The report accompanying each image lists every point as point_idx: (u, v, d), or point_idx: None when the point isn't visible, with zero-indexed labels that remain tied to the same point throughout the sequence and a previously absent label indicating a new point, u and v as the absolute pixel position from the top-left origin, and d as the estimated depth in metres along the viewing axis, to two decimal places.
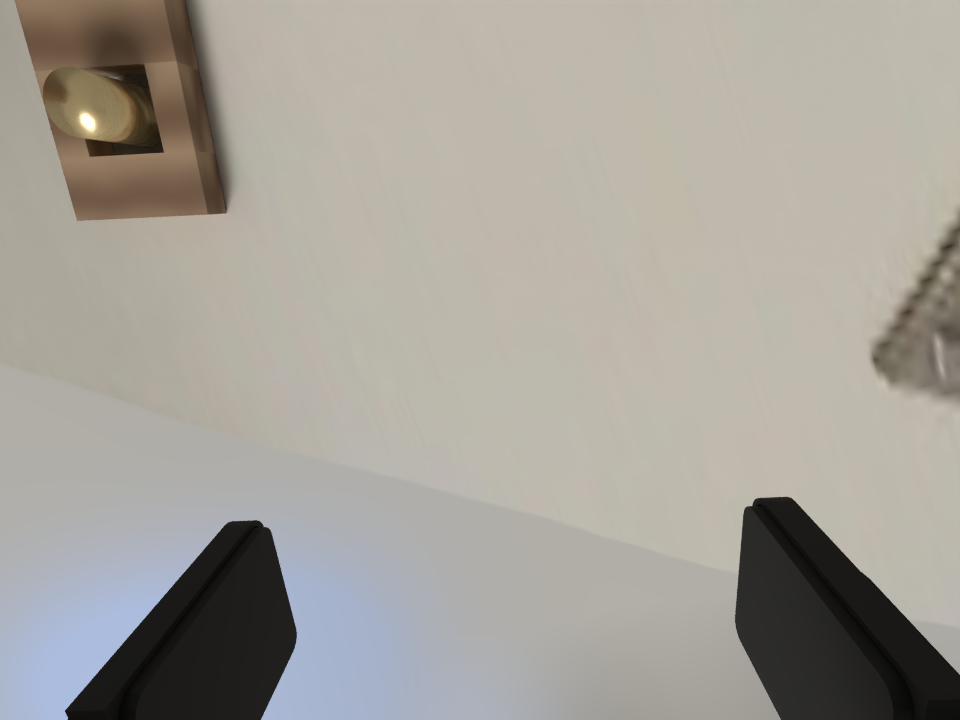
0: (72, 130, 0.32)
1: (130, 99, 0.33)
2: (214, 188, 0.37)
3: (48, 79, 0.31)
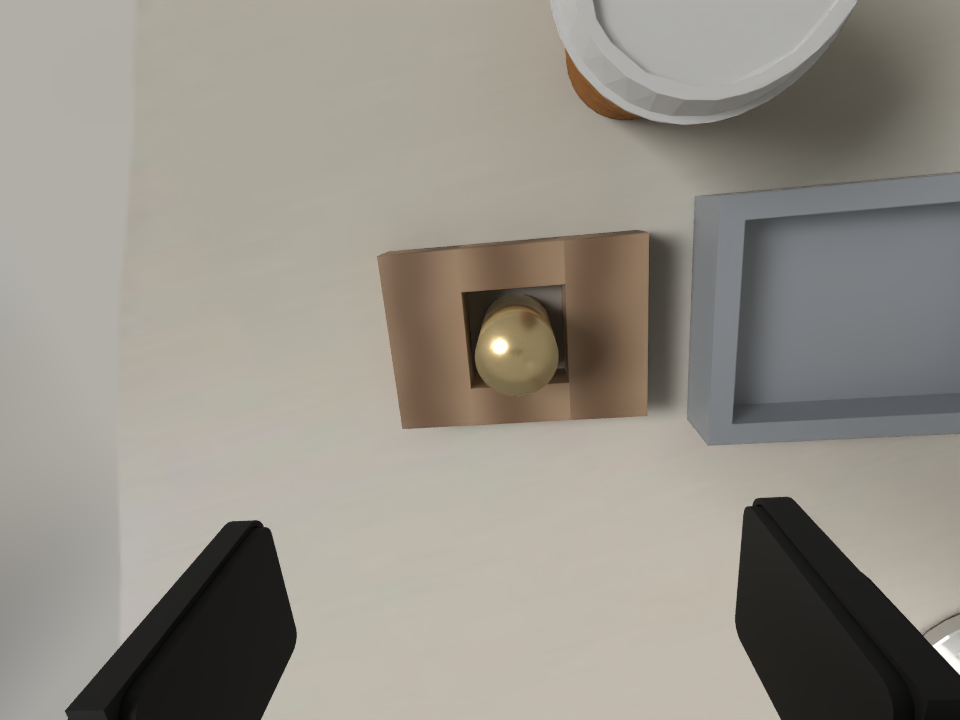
0: (483, 346, 0.24)
1: None
2: None
3: (543, 329, 0.24)
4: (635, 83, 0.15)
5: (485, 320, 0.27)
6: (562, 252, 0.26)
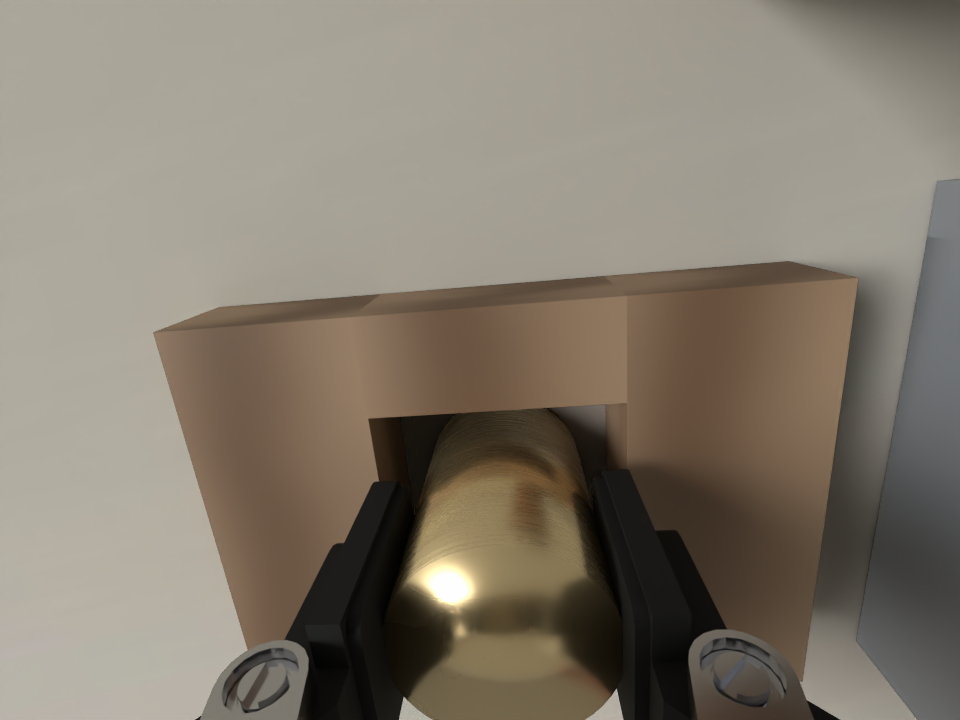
0: (403, 623, 0.08)
1: None
2: None
3: (584, 586, 0.08)
4: None
5: (426, 491, 0.11)
6: (622, 326, 0.10)
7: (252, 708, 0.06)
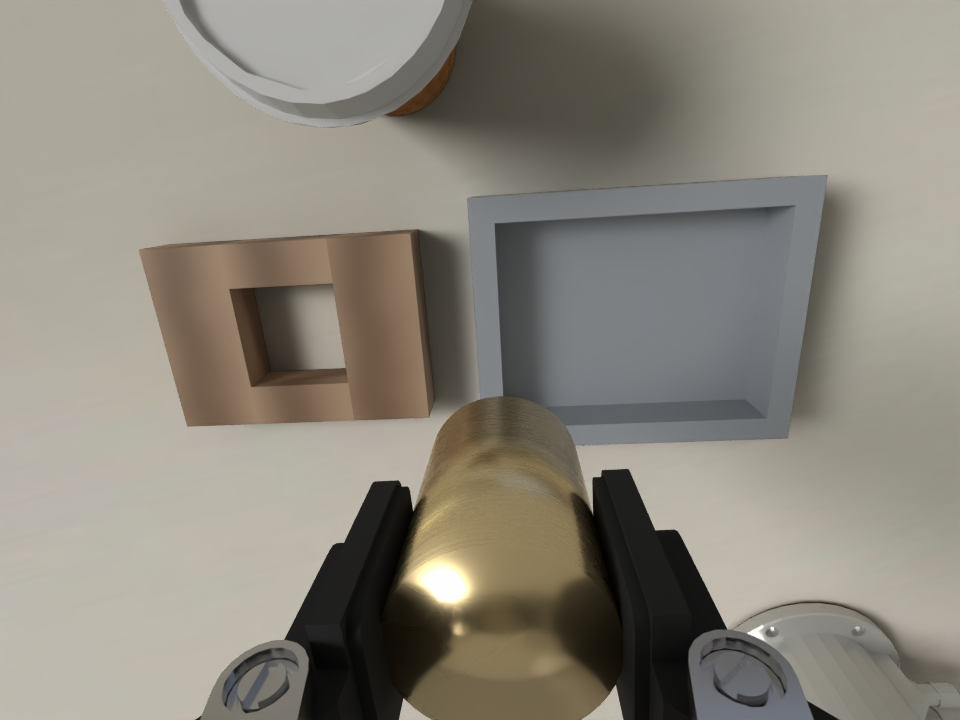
0: (400, 622, 0.08)
1: None
2: None
3: (582, 585, 0.08)
4: (239, 82, 0.14)
5: (424, 489, 0.11)
6: (326, 250, 0.25)
7: (252, 708, 0.06)
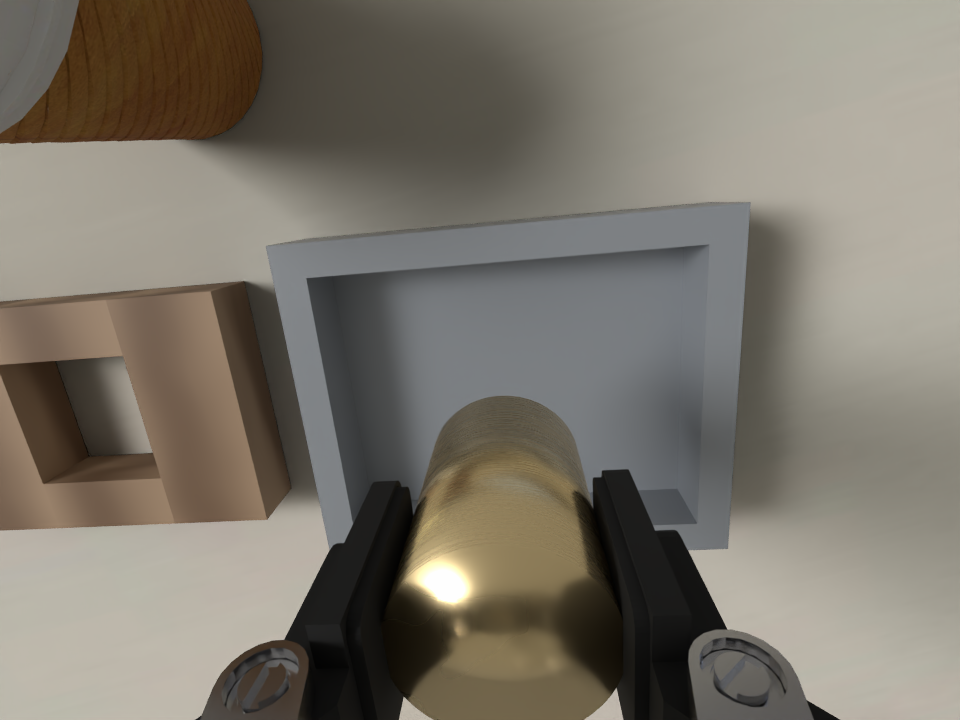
0: (402, 621, 0.08)
1: None
2: None
3: (584, 584, 0.08)
4: None
5: (426, 489, 0.11)
6: (108, 315, 0.20)
7: (252, 708, 0.06)
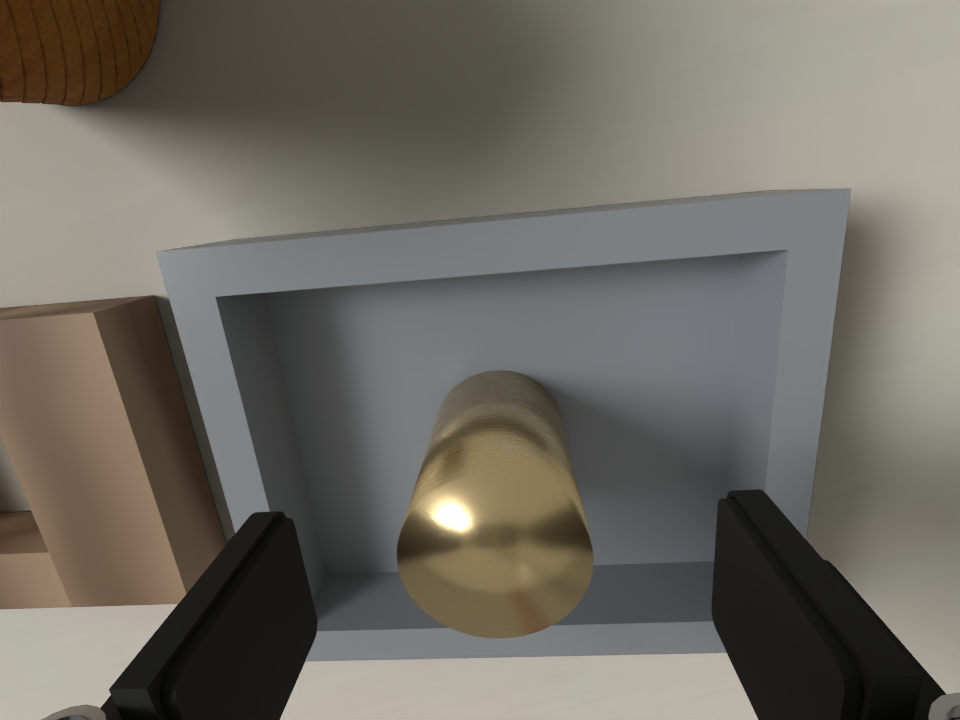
0: (415, 539, 0.10)
1: None
2: None
3: (558, 506, 0.10)
4: None
5: (431, 444, 0.13)
6: None
7: None
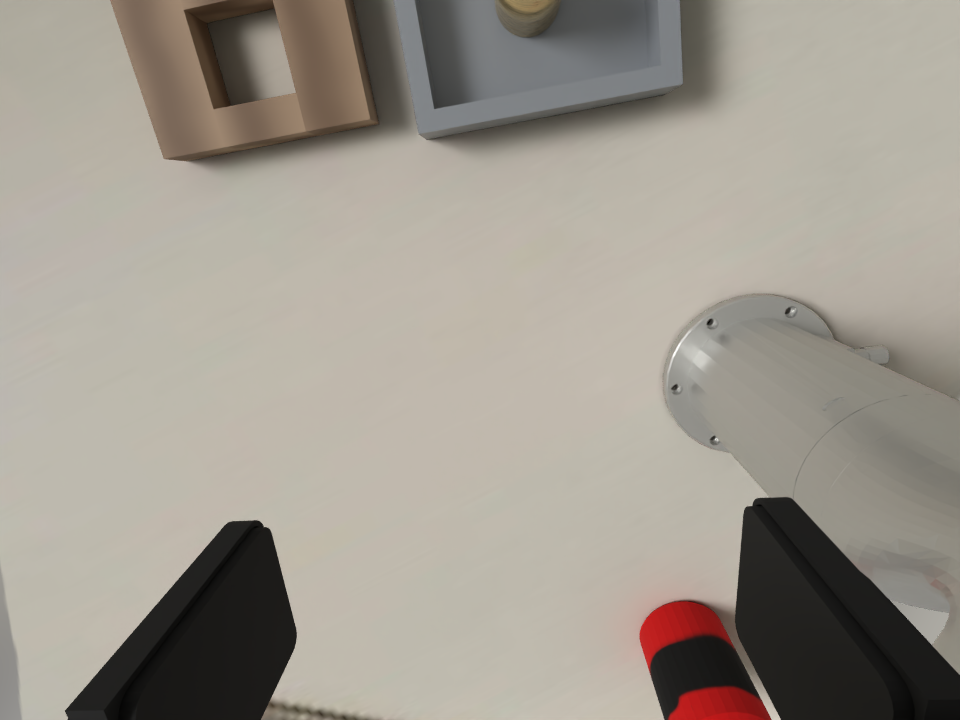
0: None
1: (544, 11, 0.28)
2: (202, 155, 0.34)
3: None
4: None
5: None
6: None
7: None
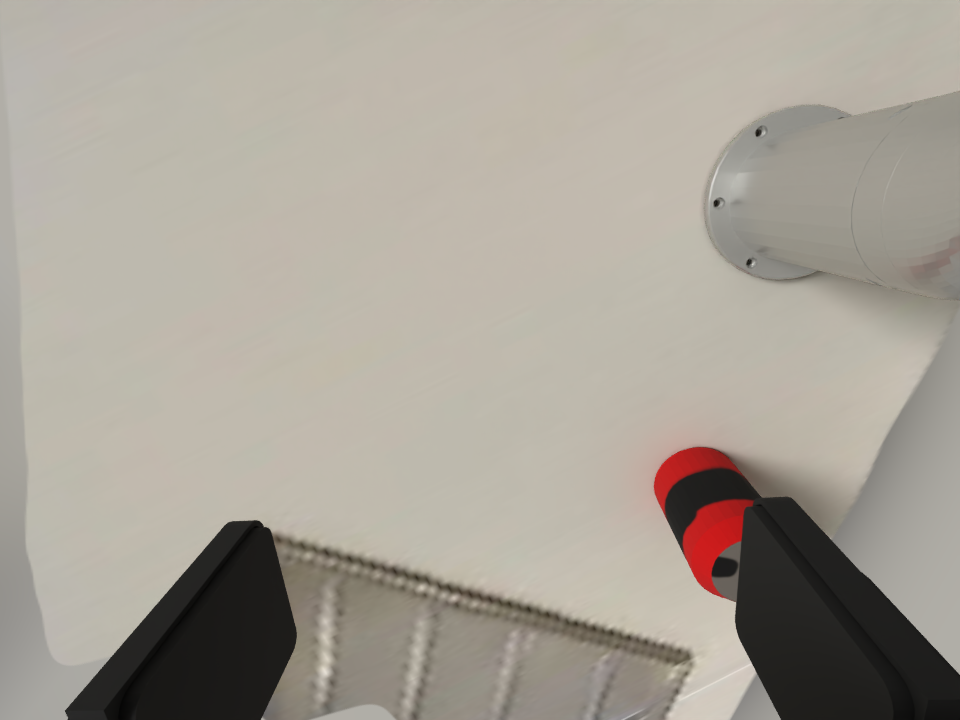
0: None
1: None
2: None
3: None
4: None
5: None
6: None
7: None
